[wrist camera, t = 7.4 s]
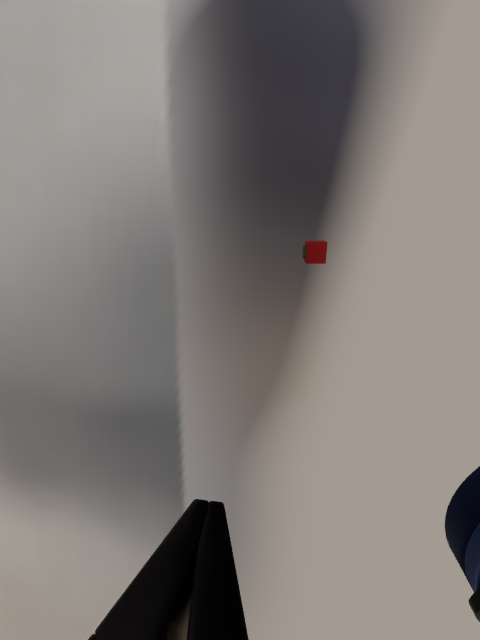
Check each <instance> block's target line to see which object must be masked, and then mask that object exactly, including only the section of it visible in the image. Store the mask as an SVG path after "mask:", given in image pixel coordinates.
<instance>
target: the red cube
mask: <svg viewBox="0 0 480 640" xmlns="http://www.w3.org/2000/svg"><path fill="white" fill-rule="evenodd" d="M326 254H327V242H326V241H305V245H303V250H302V257H303V259H304V261H305V263H306V264H325V263H326Z"/></svg>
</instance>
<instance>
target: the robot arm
mask: <svg viewBox="0 0 480 640" xmlns="http://www.w3.org/2000/svg"><path fill="white" fill-rule="evenodd" d="M469 605H470V606H471V609H472V610H473V612H474V614H475V616H476V618H477V619H478V621H479V622H480V588H479V589H478V590H477V591H476V592H475V593H474V594H473V595H472V596H471V597H470V599H469ZM186 638H187V640H248V635H247V629H246V624H245V618H244V612H243V607H242V602H241V596H240V590H239V585H238V580H237V574H236V569H235V563H234V557H233V552H232V546H231V541H230V535H229V530H228V524H227V519H226V513H225V508H224V504H223V503H222V502H216V501H210V502H208V501H206V500H199V499H195V500H194V501H193V502H192V503H191V504H190V506H189V507H188V508H187V510H186V511H185V512H184V514H183V515H182V516H181V518H180V519H179V520H178V522H177V523H176V524H175V526H174V527H173V528H172V529H171V531H170V532H169V533H168V535H167V536H166V537H165V539H164V540H163V541H162V543H161V544H160V545H159V547H158V548H157V549H156V551H155V552H154V553H153V555H152V556H151V557H150V559H149V560H148V561H147V563H146V564H145V565H144V567H143V568H142V569H141V571H140V572H139V573H138V574H137V576H136V577H135V578H134V580H133V581H132V582H131V584H130V585H129V586H128V588H127V589H126V590H125V592H124V593H123V594H122V596H121V597H120V598H119V600H118V601H117V602H116V604H115V605H114V606H113V608H112V609H111V610H110V612H109V613H108V614H107V616H106V617H105V618H104V620H103V621H102V622H101V623H100V625H99V626H98V627H97V629H96V631H95V634H92V635H91V636H90V638H89V639H88V640H186Z"/></svg>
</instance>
